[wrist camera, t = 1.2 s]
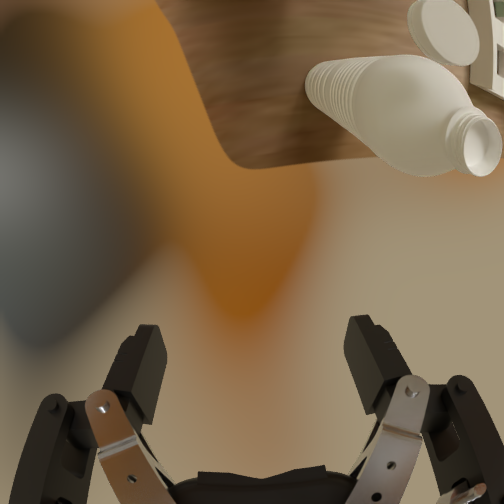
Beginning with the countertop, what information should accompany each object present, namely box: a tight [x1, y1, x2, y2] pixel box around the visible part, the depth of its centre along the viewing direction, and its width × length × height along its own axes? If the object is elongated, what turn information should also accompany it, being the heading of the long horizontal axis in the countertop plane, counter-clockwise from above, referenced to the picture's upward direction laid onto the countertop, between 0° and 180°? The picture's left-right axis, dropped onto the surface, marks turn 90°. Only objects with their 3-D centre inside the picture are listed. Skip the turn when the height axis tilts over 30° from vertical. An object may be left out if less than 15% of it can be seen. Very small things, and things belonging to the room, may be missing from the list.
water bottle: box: [305, 0, 502, 177], centre depth 15 cm, size 9×6×25 cm
